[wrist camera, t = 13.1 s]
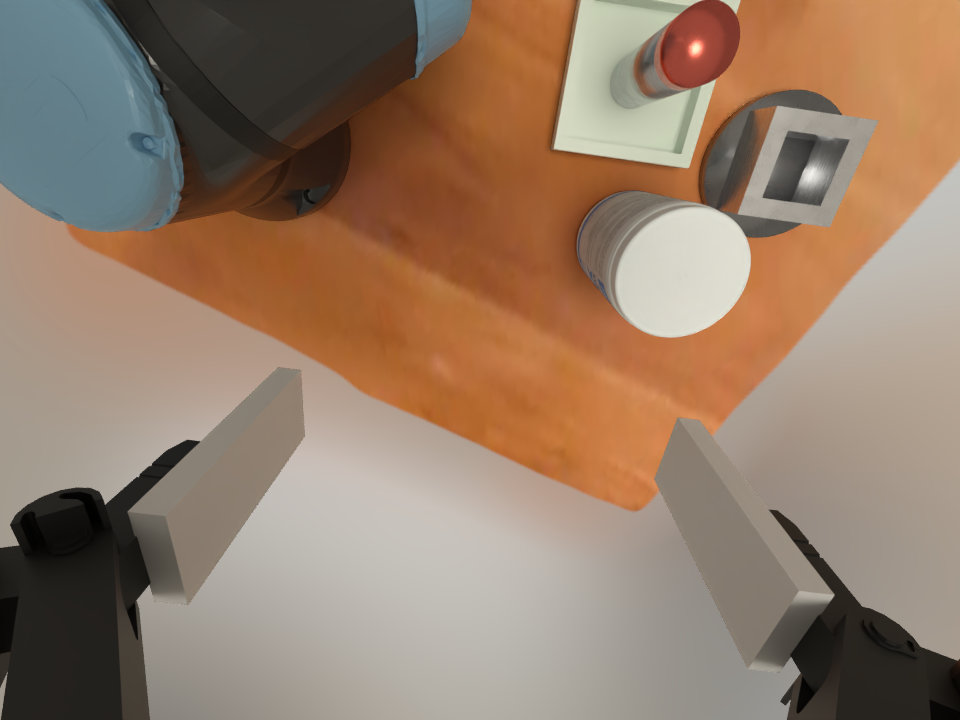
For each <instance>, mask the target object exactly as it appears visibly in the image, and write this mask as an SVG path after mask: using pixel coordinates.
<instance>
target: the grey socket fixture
mask: <svg viewBox="0 0 960 720" xmlns="http://www.w3.org/2000/svg"><path fill="white" fill-rule="evenodd" d="M877 123H878V121H877V120H871V119H864V118H857V117H850V116H843V115H842V114H841V113H840V111H839V110H838V108H837V107H836V106H835V105H834V104H833V103H832V102H831V101H830V100H828V99H827V98H825V97H824V96H822V95H819V94H817V93H815V92H810V91H806V90H788V91H783V92H778V93H774V94H770V95H766V96H763V97H760V98H758V99H755V100H753V101H751V102H750V103H748V104H746V105H745V106H743V107H741V108H740V109H739V110H737V111H736V112H735V113H734V114H732V115H731V116H730V117H729V118H728V119H727V120H726V121H725V122H724V123H723V124H722V126H721V127H720V128H719V129H718V131H717V132H716V133H715V135H714V136H713V138H712V140H711V141H710V143H709V145H708V147H707V149H706V152H705V154H704V157H703V160H702V164H701V167H700V174H699V191H700V197H701V201H702V204H703V205H706V206H709V207H712V208H714V209H716V210H718V211H719V212H722V213H724V214H726V215H727V216H729V217H730V218H731V219H733V220H734V221H735V222H736V223H737V224H738V225H739V227H740V228H741V229H742V231H743V232H744V234H745V236H747V237H757V238H758V237H769V236H774V235H778V234H781V233H784V232H786V231H789V230H791V229H793V228H795V227H797V226H798V225H800V224H802V223H803V224H810V225H817V226H824V227H830V225H831V223H832V221H833V218H834V216H835V214H836V212H837V210H838V208H839V205H840V203H841V201H842V199H843V197H844V195H845V192H846V190H847V188H848V186H849V184H850V182H851V179H852V177H853V175H854V173H855V171H856V169H857V166H858V164H859V162H860V160H861V158H862V156H863V153H864V151H865V149H866V147H867V145H868V142H869V140H870V138H871V136H872V134H873V132H874V129H875V127H876V125H877Z"/></svg>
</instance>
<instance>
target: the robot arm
mask: <svg viewBox="0 0 960 720" xmlns="http://www.w3.org/2000/svg"><path fill="white" fill-rule="evenodd" d="M471 9H472V0H0V183H1V184H2V185H3V186H4V187H6V188H7V189H8V190H9V191H11V192H12V193H13V194H14V195H16V196H17V197H18V198H20V199H21V200H22V201H24V202H25V203H27V204H28V205H30V206H31V207H33V208H35V209H36V210H38V211H40V212H41V213H43V214H45V215H47V216H49V217H51V218H53V219H56V220H58V221H64V222H66V223H68V224H72V225H74V226H76V227H78V228H80V229H85V230H90V231H98V232H117V231H132V230H134V231H151V230H153V229H155V228H160V227H163V226H164V225H166V224H170V223H175V222H180V221H185V220H190V219H195V218H199V217H204V216H209V215H214V214H219V213H224V212H229V211H236V212H239V213H241V214H244V215H246V216H249V217H252V218H256V219H261V220H268V221H285V220H291V219H295V218H299V217H302V216H305V215H308V214H311V213H313V212H315V211H317V210H318V209H320V208H322V207H323V206H324V205H325V204H327V203H328V202H329V201H330V200H331V199H332V198H333V196H334V195H335V194H336V192H337V191H338V189H339V188H340V186H341V184H342V182H343V180H344V178H345V175H346V172H347V169H348V165H349V159H350V147H351V143H350V131H349V124H348V120H347V119H349V118H350V117H352V116H353V115H355V114H356V113H358V112H359V111H361V110H362V109H364V108H365V107H367V106H368V105H370V104H371V103H373V102H374V101H376V100H377V99H379V98H380V97H382V96H383V95H385V94H386V93H388V92H389V91H391V90H392V89H394V88H395V87H397V86H398V85H400V84H401V83H403V82H404V81H406V80H407V79H410V80H414V79H416V78H418V77H419V75H420V74H421V73H422V72H423V70H424V67H425V66H427V65H428V64H429V63H431V62H432V61H434V60H435V59H436V58H438V57H439V56H440V55H442V54H443V53H444V52H446V51H447V50H448V49H450V48H451V47H452V46H454V45H455V44H456V43H457V42H458V41H459V40H460V39H461V37H462V36H463V34H464V32H465V30H466V27H467V24H468V22H469V19H470V16H471ZM304 437H305V430H304V414H303V398H302V381H301V370H297V369H288V368H281V367H278V368H277V369H276V370H275V371H274V372H273V373H272V374H271V375H270V376H269V377H268V378H267V379H266V380H265V381H263V382H262V383H261V384H260V385H259V386H258V387H257V388H256V389H255V390H254V391H253V392H252V393H251V394H250V395H249V396H248V397H247V398H246V399H245V400H244V401H243V402H242V403H240V404H239V405H238V406H237V407H236V408H235V409H234V410H233V411H232V412H231V413H230V414H229V415H228V416H227V417H226V418H225V419H224V420H223V421H222V422H221V423H220V424H219V425H217V426H216V427H215V428H214V429H213V430H212V431H211V432H210V433H209V434H208V435H207V436H206V437H205V438H204V439H203V440H202V441H193V440H186V441H184V442H182V443H180V444H178V445H176V446H174V447H172V448H171V449H168V450H167V451H166V452H164V453H163V454H162V455H161V456H160V457H159V458H158V459H157V460H156V461H154V462H153V463H152V466H149V467H147V468H146V469H145V470H144V471H143V472H142V473H141V474H140V476H139V477H136V478H135V479H134V480H133V481H132V482H131V483H129V484H128V485H127V486H126V487H125V488H124V489H123V490H122V491H120V492H119V493H118V494H117V495H116V496H115V497H114V498H112V499H111V500H110V501H109V502H108V503H107V504H106V505H105V504H104V501H103V498H102V496H101V494H100V492H98V491H96V490H94V489H91V488H71V489H65V490H60V491H57V492H54V493H51V494H49V495H46V496H43V497H41V498H39V499H37V500H35V501H34V502H32V503H30V504H28V505H27V506H25V508H23V509H22V510H21V511H20V512H18V513H17V514H16V515H15V517H14V519H13V520H12V522H11V524H10V526H11V528H12V530H13V532H14V534H15V536H16V538H17V541H18V543H19V546H12V547H4V548H0V687H1V685H2V683H3V680H4V678H5V676H6V674H7V672H8V674H7V682H6V688H5V696H4V702H3V710H2V716H1V720H150V716H149V706H148V696H147V686H146V675H145V665H144V654H143V644H142V635H141V624H140V613H139V607H138V604H137V601H136V600H137V599H138V598H139V597H140V595H141V594H142V593H143V592H144V590H145V589H146V588H147V587H148V585H150V588H151V591H152V595H153V598H154V601H155V602H165V603H173V604H181V605H189V603H190V602H191V600H192V599H193V597H194V596H195V594H196V593H197V592H198V590H199V589H200V587H201V586H202V584H203V583H204V582H205V580H206V579H207V577H208V576H209V574H210V573H211V571H212V570H213V569H214V567H215V566H216V564H217V563H218V561H219V560H220V558H221V557H222V556H223V554H224V552H225V551H226V550H227V548H228V547H229V545H230V544H231V542H232V541H233V540H234V538H235V537H236V535H237V534H238V532H239V531H240V529H241V528H242V527H243V525H244V524H245V522H246V521H247V519H248V518H249V516H250V515H251V513H252V512H253V511H254V509H255V508H256V506H257V505H258V503H259V502H260V500H261V499H262V498H263V496H264V495H265V493H266V492H267V490H268V489H269V487H270V486H271V485H272V483H273V482H274V480H275V478H276V477H277V476H278V474H279V473H280V472H281V470H282V469H283V467H284V466H285V464H286V463H287V461H288V460H289V458H290V457H291V455H292V454H293V453H294V451H295V450H296V448H297V447H298V445H299V444H300V443H301V441H302V440H303V438H304ZM655 481H656V484H657V486H658V488H659V490H660V492H661V494H662V495H663V497H664V499H665V502H666V504H667V506H668V508H669V510H670V512H671V514H672V516H673V518H674V520H675V522H676V524H677V526H678V528H679V530H680V532H681V534H682V536H683V538H684V540H685V542H686V544H687V546H688V549H689V550H690V553H691V555H692V557H693V559H694V561H695V562H696V565H697V567H698V569H699V571H700V573H701V575H702V577H703V579H704V581H705V583H706V585H707V587H708V589H709V591H710V593H711V595H712V597H713V599H714V601H715V603H716V605H717V607H718V610H719V611H720V613H721V616H722V618H723V620H724V622H725V624H726V626H727V628H728V630H729V632H730V634H731V636H732V638H733V640H734V642H735V644H736V646H737V648H738V650H739V652H740V654H741V656H742V658H743V660H744V662H745V664H746V666H747V668H748V669H753V670H762V671H771V672H780V671H781V669H782V668H783V667H784V666H785V664H786V662H787V661H788V660H789V658H790V657H792V659H793V661H794V662H795V664H796V666H797V667H798V669H799V671H800V672H801V674H800V675H799V676H798V678H797V679H796V680H795V682H794V683H793V684H792V686H791V687H790V688H789V690H788V691H787V692H786V694H785V695H784V696H783V698H782V700H781V702H782V703H783V704H784V705H786V704H787V703H788V702H789V700H791V702H790V707H789V712H788V717H787V720H960V659H959V660H958V661H957V660H954V659H951V658H948V657H946V656H943V655H940V654H938V653H935V652H932V651H930V650H927V649H925V648H922V647H920V646H919V645H918V643H917V642H916V641H915V639H914V638H913V637H912V636H911V635H910V634H909V633H908V632H907V631H906V630H905V629H903V628H902V627H901V626H900V625H899V624H897V623H896V622H894V621H893V620H891V619H890V618H888V617H887V616H885V615H883V614H881V613H879V612H877V611H875V610H872V609H870V608H865V607H862V606H861V605H860V603H859V602H858V601H857V600H856V599H855V597H854V596H853V595H852V594H851V593H850V591H849V590H848V589H847V588H846V586H845V585H844V584H843V583H842V581H841V580H840V579H839V578H838V576H837V575H836V574H835V573H834V572H833V570H832V569H831V568H830V567H829V565H828V564H827V563H826V562H825V561H824V559H823V558H820V556H819V555H820V554H819V553H818V552H817V551H816V550H815V548H814V547H813V546H812V545H811V544H809V541H808V540H807V538H806V537H805V536H804V535H803V534H802V532H801V531H800V530H799V529H798V527H797V526H796V525H795V524H794V523H792V522H791V521H790V520H789V519H787V518H786V517H785V516H784V515H782V514H781V513H780V512H779V511H777V510H769V509H768V508H767V507H766V506H765V504H764V503H763V502H762V501H761V499H760V498H759V497H758V495H757V494H756V493H755V491H754V490H753V489H752V488H751V486H750V485H749V484H748V483H747V481H746V480H745V479H744V477H743V476H742V475H741V473H740V472H739V471H738V469H737V468H736V467H735V466H734V464H733V463H732V462H731V461H730V459H729V458H728V457H727V455H726V454H725V453H724V451H723V450H722V449H721V448H720V446H719V445H718V444H717V442H716V441H715V440H714V439H713V437H712V436H711V435H710V433H709V432H708V431H707V429H706V428H705V427H704V426H703V424H702V423H701V422H700V420H694V419H686V418H677V421H676V423H675V426H674V429H673V431H672V434H671V437H670V439H669V442H668V444H667V447H666V450H665V452H664V455H663V458H662V460H661V463H660V466H659V468H658V471H657V473H656V476H655Z"/></svg>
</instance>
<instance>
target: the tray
mask: <svg viewBox="0 0 960 720" xmlns="http://www.w3.org/2000/svg"><path fill="white" fill-rule="evenodd" d="M699 1H702V0H577V4H576V10H575V15H574V21H573V26H572V32H571V38H570V43H569V49H568V54H567V60H566V66H565V71H564V77H563V82H562V88H561V94H560V99H559V105H558V110H557V116H556V121H555V127H554V133H553V138H552V144H551V149H550V150H557V151H564V152H571V153H578V154H585V155H592V156H599V157H606V158H613V159H620V160H627V161H634V162H641V163H648V164H655V165H662V166H669V167H676V168H689V166H690V163H691V159H692V156H693V153H694V150H695V146H696V143H697V140H698V137H699V133H700V130H701V127H702V124H703V120H704V117H705V114H706V111H707V107H708V104H709V101H710V98H711V94H712V91H713V88H714V85H715V81H716V79H715V80H713V81H712V82H710V83H707V84H705V85H702V86H699V87H696V88H693V89H690V90H687V91H684V92H681V93H678V94H675V95H672V96H669V97H667V98H664V99H661V100H658V101H655V102H652V103H649V104H646V105H643V106H640V107H637V108H632V109H629V108H624V107H622V106H620V105H619V104H617V103H616V102H615V100H614V99H613V97H612V94H611V90H610V81H611V76H612V73H613V71H614V69H615V67H616V66H617V64H618V63H619V62H620V61H621V60H622V59H623V58H625V57H626V56H627V55H628V54H630V53H631V52H632V51H633V50H635V49H636V48H637V47H639V46H640V45H641V44H642V43H644V42H645V41H646V40H647V39H649V38H650V37H651V36H653V35H654V34H655V33H656V32H658V31H659V30H660V29H661V28H663V27H664V26H665V25H666V24H668V23H669V22H670V21H672V20H673V19H674V18H675V17H677V16H678V15H679V14H680V13H682V12H683V11H684V10H686V9H687V8H688V7H690V6H691V5H693V4H694V3H697V2H699ZM720 1H722V2H724V3H726V4H727V5H729V6H730V7H731V8H732V10H733V11H734V12H735V14H736V13H737V10H738V7H739V3H740V0H720Z"/></svg>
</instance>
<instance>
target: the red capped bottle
mask: <svg viewBox="0 0 960 720" xmlns="http://www.w3.org/2000/svg"><path fill="white" fill-rule="evenodd" d="M739 40H740V26H739V21H738V19H737V16H736V14H735V12H734V11H733V10H732V8H731V7H730V6H729V5H727V4H726V3H724V2H722V1H720V0H702V1H699V2H697V3H694V4H693V5H691V6H690V7H688V8H687V9H686V10H684V11H683V12H682V13H680V14H679V15H678V16H677V17H675V18H674V19H673V20H672V21H670V22H669V23H668V24H666V25H665V26H664V27H663V28H661V29H660V30H659V31H658V32H656V33H655V34H654V35H653V36H651V37H650V38H649V39H647V40H646V41H645V42H644V43H642V44H641V45H640V46H639V47H637V48H636V49H635V50H633V51H632V52H631V53H630V54H628V55H627V56H626V57H625V58H623V59H622V60H621V61H620V62H619V63H618V64H617V66H616V67H615V69H614V71H613V73H612V76H611V81H610V90H611V94H612V97H613V99H614V100H615V102H616V103H617V104H619V105H620V106H622V107H624V108H629V109H632V108H637V107H640V106H643V105H646V104H649V103H652V102H655V101H658V100H661V99H664V98H667V97H669V96H672V95H675V94H678V93H681V92H684V91H687V90H690V89H693V88H696V87H699V86H702V85H705V84H707V83H710V82H712V81H713V80H715V79H716V78H718V77H719V76H720V75H721V74H722V73H723V72H724V71H725V70H726V69H727V68H728V66H729V65H730V64H731V62H732V60H733V58H734V56H735V54H736V52H737V49H738V45H739Z"/></svg>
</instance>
